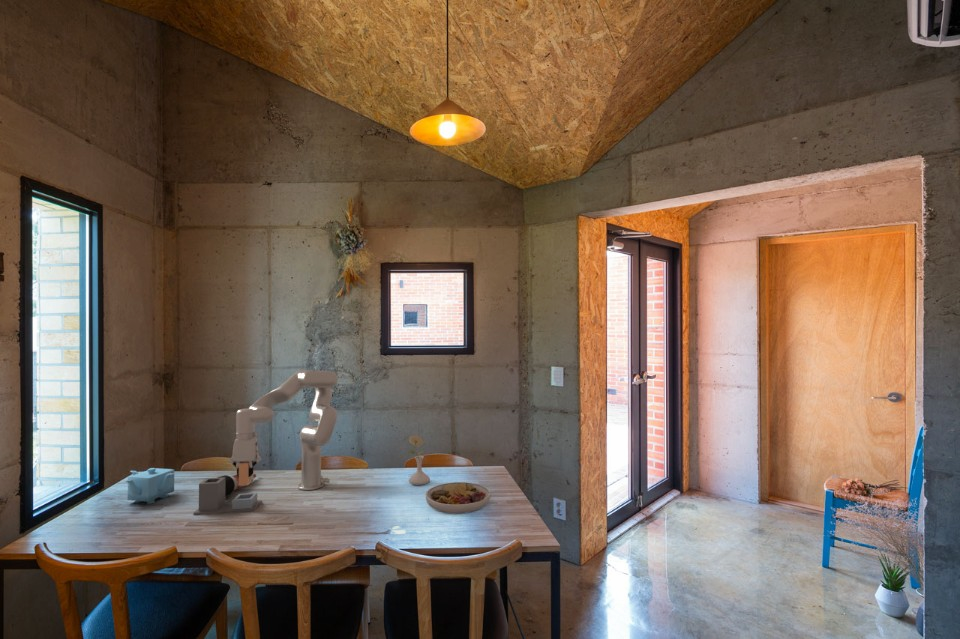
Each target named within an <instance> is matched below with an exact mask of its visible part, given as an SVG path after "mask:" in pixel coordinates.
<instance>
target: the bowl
mask: <svg viewBox="0 0 960 639" xmlns="http://www.w3.org/2000/svg"><path fill="white" fill-rule="evenodd" d="M425 499H426V503H427V504H428V506H430V508H432V509H433V510H435V511H438V512H441V513H445V514H456V515H458V514H467V513H473V512H476V511H478V510H480V509H482V508H483V507H485V506H486V505H488V502H489V501H490V499H491V491H490V490H489V488H487V487H486V486H484V485H481V484H479V483H473V482H467V481H466V482H465V481H456V482H445V483H442V484H437V485H434V486H432V487H430V488H428V490H427V491H426V493H425Z"/></svg>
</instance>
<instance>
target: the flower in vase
mask: <svg viewBox="0 0 960 639" xmlns="http://www.w3.org/2000/svg"><path fill="white" fill-rule="evenodd" d="M408 442H409V443H410V445H411V446H413V447H417V448H419V447H421V446H423V445H424V440H423V438H421V437H420V436H419V435H416V434H415V435H411V436H409V438H408ZM423 452H424V450H423V451H422V450H421V451H419V452H418V453H417V451H416V450H414V449H410V450H408V454H411V455H415V454H416V456H414V459H415V461H416V468H417V469H416V471H415V473H414V474H412V475H411V476H410V477H408V478H409V479H408V483H409V484H411V485H412V486H413V485H414V486H423V485H425V484H428V483H430V481H431V478H430V476H429V475H428V474H426V473H424V471H423V470H422V463H423V460H424V458H425V456H424V455H421V454H423Z"/></svg>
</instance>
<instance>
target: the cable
mask: <svg viewBox="0 0 960 639" xmlns="http://www.w3.org/2000/svg"><path fill="white" fill-rule="evenodd" d="M222 477H225V498H226V497H229V496H230V495H232V494H233V492H234V491H236V490H239V489H240V488H243V487H244V486H239V477H238V475H237V474H235V475H231V476H230V475H227V474H226V475H221V476H217V477H216V478H222ZM256 477H257V474H256V473H253V474H252V476H251V483H253V481H254V479H255V478H256Z"/></svg>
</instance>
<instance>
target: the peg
mask: <svg viewBox="0 0 960 639" xmlns="http://www.w3.org/2000/svg"><path fill="white" fill-rule="evenodd" d="M249 467H250V466H249V461H246V462H240V463H239V486H243V487H245V486H249V485H250V484H251V483H252V482H251V477H249Z"/></svg>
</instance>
